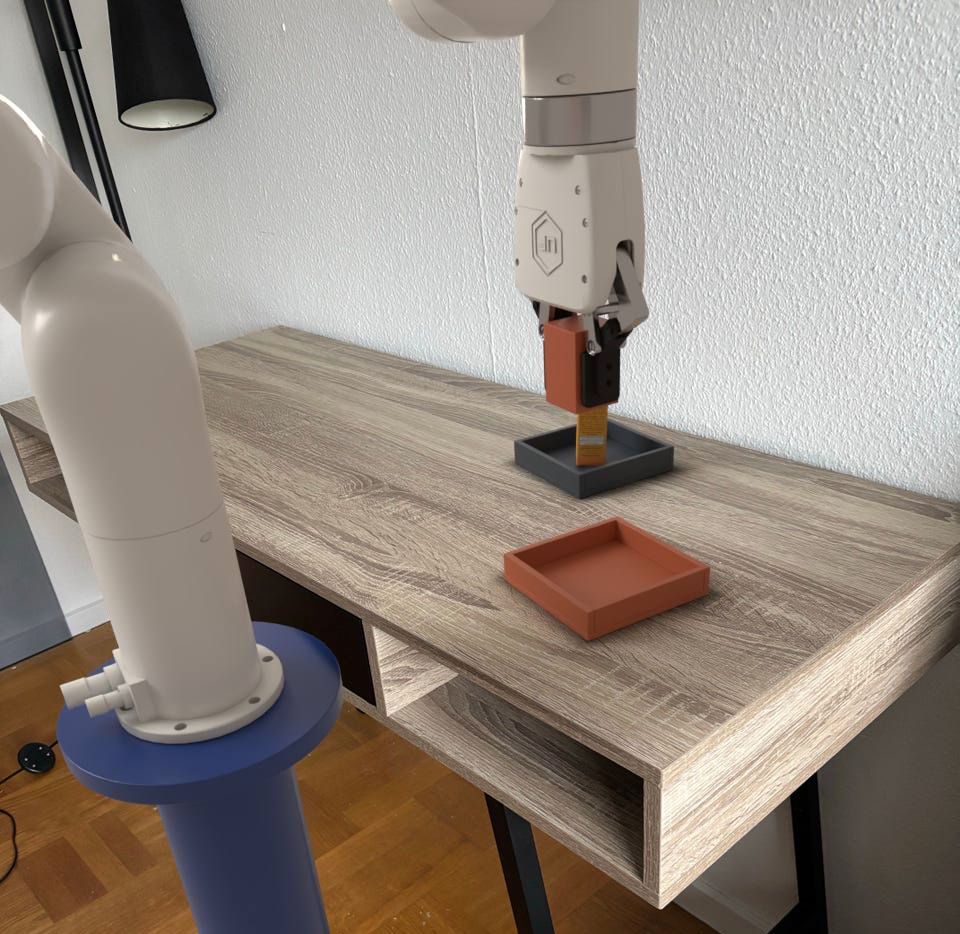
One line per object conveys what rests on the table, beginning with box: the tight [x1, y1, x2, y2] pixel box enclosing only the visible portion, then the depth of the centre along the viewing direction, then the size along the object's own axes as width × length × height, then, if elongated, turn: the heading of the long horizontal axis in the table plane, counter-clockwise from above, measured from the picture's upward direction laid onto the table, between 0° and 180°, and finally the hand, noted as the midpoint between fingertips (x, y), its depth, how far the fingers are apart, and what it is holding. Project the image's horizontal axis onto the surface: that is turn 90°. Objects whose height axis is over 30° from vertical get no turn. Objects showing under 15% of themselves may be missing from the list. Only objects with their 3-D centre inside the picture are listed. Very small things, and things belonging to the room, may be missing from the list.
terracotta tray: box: [503, 515, 711, 642], centre depth 79 cm, size 12×12×3 cm
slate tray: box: [513, 417, 675, 500], centre depth 101 cm, size 12×12×3 cm
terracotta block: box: [543, 314, 619, 415], centre depth 71 cm, size 4×4×6 cm
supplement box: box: [576, 405, 609, 467], centre depth 99 cm, size 3×3×10 cm
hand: (581, 393), depth 72 cm, fingers closed on terracotta block, 4 cm apart
